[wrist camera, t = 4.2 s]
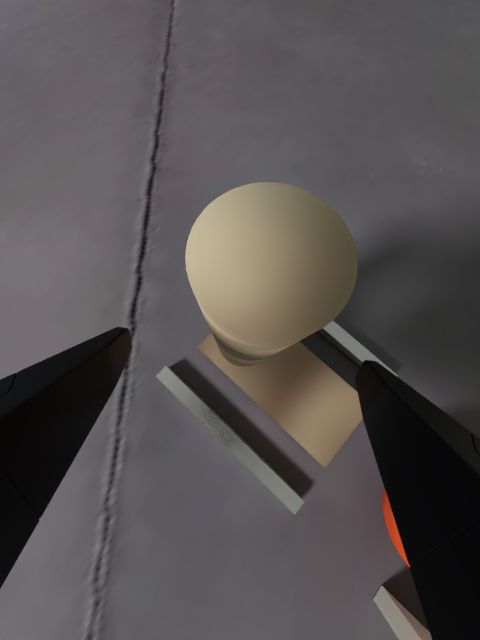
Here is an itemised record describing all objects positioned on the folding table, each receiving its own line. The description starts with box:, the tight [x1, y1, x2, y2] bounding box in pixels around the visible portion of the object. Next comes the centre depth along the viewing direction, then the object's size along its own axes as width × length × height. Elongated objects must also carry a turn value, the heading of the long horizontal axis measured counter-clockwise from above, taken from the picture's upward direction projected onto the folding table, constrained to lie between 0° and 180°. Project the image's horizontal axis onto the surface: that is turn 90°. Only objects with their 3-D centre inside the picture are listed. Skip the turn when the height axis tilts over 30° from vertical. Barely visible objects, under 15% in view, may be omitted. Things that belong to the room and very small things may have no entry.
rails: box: [156, 321, 398, 515], centre depth 19 cm, size 13×12×1 cm
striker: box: [185, 182, 363, 468], centre depth 12 cm, size 11×5×15 cm, turn 48°
